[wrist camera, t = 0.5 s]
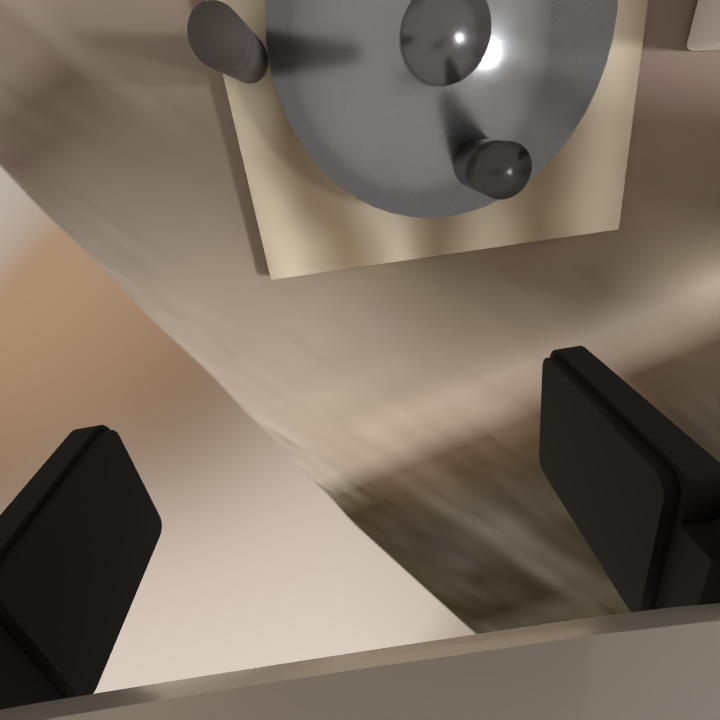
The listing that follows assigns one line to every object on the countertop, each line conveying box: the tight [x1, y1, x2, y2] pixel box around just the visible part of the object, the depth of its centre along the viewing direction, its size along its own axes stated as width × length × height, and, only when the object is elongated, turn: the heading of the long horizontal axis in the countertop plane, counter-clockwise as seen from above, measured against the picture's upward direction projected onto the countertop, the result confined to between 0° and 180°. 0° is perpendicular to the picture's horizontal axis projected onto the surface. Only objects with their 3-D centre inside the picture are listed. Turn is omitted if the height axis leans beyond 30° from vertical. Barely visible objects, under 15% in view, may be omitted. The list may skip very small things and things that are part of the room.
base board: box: [187, 0, 648, 280], centre depth 23 cm, size 24×24×8 cm
